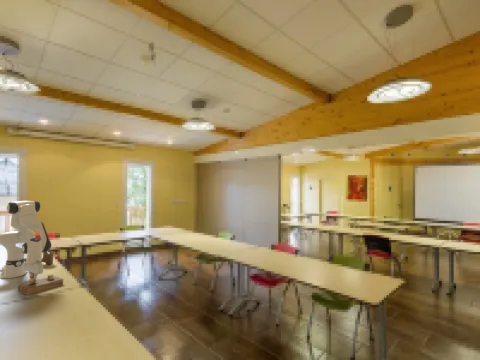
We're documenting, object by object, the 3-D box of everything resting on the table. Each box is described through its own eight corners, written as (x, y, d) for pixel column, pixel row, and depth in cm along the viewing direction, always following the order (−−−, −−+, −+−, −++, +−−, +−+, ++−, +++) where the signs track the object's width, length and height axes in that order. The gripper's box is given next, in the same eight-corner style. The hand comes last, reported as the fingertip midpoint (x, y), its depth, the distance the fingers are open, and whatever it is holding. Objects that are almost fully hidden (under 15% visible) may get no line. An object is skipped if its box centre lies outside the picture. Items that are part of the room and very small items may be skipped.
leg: (34, 281, 194) (34, 271, 194) (36, 282, 192) (37, 271, 192) (28, 282, 190) (29, 272, 191) (31, 283, 189) (31, 273, 189)
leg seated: (46, 285, 201) (46, 275, 201) (51, 283, 204) (51, 274, 205) (48, 286, 199) (49, 276, 200) (53, 284, 203) (54, 274, 203)
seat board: (18, 291, 189) (18, 285, 189) (53, 281, 210) (53, 275, 211) (27, 294, 183) (28, 288, 183) (62, 284, 204) (63, 278, 204)
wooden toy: (33, 267, 244) (34, 241, 245) (33, 265, 249) (34, 240, 250) (52, 264, 254) (54, 240, 255) (52, 263, 259) (54, 239, 260)
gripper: (46, 260, 190) (45, 279, 190) (32, 256, 199) (31, 274, 199) (36, 262, 185) (35, 281, 184) (22, 258, 194) (21, 276, 193)
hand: (33, 277), depth 191 cm, fingers closed on leg, 4 cm apart
